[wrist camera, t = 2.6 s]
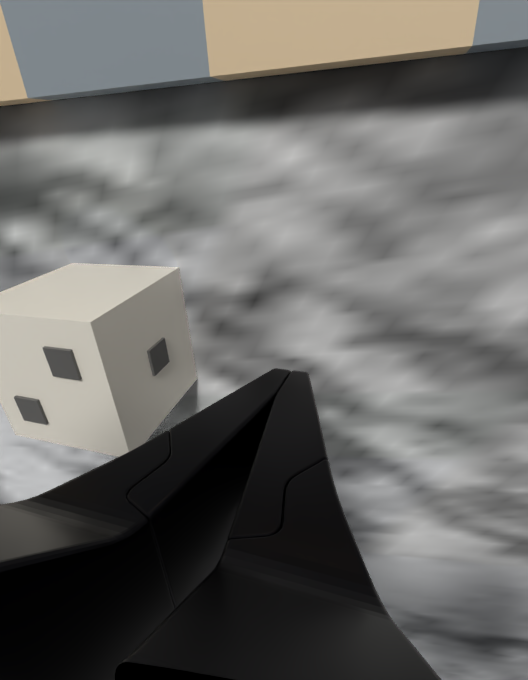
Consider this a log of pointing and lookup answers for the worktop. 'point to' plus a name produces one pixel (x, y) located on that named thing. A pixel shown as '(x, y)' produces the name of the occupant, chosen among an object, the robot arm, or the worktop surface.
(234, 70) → the track
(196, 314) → the worktop surface
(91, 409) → the die
